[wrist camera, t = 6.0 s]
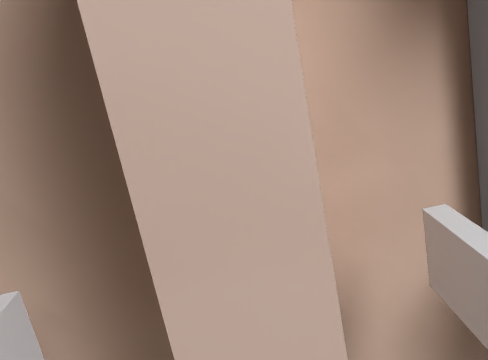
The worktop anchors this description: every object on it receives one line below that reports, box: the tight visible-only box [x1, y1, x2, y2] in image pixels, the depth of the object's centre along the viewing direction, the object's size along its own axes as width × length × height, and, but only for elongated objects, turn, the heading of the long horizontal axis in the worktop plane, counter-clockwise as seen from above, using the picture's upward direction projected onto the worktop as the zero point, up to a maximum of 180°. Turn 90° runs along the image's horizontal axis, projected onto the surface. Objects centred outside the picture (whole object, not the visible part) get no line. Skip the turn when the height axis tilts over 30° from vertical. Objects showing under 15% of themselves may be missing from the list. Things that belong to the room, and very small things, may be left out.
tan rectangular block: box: [77, 0, 348, 360], centre depth 14 cm, size 4×20×9 cm, turn 11°
